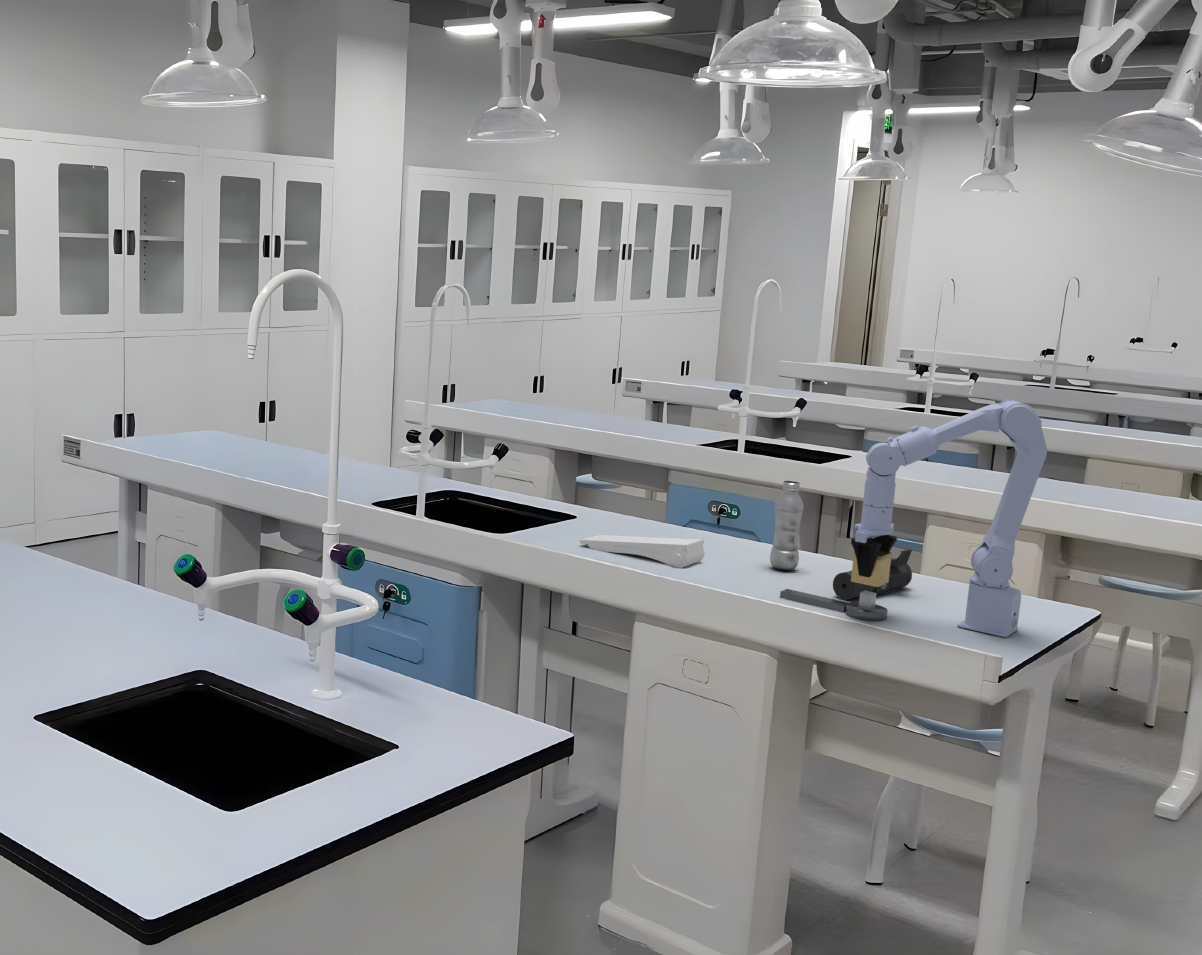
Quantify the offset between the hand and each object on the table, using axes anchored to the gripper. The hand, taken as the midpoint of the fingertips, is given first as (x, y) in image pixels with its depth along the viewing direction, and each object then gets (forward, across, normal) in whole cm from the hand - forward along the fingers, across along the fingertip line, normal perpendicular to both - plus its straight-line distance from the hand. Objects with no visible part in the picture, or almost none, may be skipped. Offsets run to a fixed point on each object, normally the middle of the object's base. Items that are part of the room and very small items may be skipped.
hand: (870, 573), depth 228 cm
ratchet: (+8, 0, -7) cm, 11 cm away
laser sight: (+9, -19, -6) cm, 22 cm away
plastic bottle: (+9, -22, -29) cm, 37 cm away
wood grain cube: (+2, 0, 0) cm, 2 cm away
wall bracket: (+9, -8, -58) cm, 59 cm away
